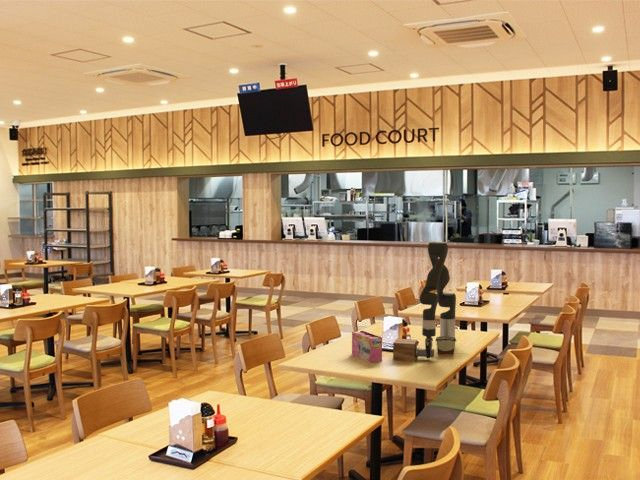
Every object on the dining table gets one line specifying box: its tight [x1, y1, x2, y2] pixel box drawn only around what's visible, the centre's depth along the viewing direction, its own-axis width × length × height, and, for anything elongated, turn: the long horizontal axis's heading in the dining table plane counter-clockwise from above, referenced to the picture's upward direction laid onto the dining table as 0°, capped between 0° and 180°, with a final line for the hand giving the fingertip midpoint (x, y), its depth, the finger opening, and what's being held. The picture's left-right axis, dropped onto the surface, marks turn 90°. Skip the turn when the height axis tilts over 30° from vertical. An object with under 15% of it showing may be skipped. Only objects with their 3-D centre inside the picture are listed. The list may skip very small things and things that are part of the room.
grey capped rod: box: [415, 346, 435, 359], centre depth 379 cm, size 6×19×6 cm, turn 73°
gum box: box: [351, 330, 383, 363], centre depth 384 cm, size 24×8×14 cm, turn 26°
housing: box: [392, 338, 418, 363], centre depth 381 cm, size 12×12×10 cm
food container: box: [434, 335, 457, 356], centre depth 392 cm, size 12×6×10 cm, turn 84°
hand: (428, 357), depth 377 cm, fingers closed on grey capped rod, 3 cm apart
